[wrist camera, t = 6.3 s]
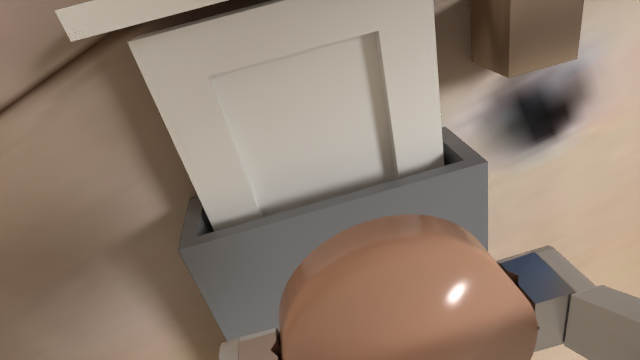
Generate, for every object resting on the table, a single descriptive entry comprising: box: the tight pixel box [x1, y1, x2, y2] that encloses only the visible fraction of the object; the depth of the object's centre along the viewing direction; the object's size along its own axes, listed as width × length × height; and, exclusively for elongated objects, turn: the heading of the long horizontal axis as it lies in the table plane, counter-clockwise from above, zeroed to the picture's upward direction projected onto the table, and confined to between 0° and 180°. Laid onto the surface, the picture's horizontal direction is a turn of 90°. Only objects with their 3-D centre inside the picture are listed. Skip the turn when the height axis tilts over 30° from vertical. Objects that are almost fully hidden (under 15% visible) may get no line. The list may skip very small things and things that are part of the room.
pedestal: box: [471, 0, 584, 78], centre depth 22 cm, size 4×4×4 cm
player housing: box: [178, 127, 488, 341], centre depth 29 cm, size 20×18×5 cm
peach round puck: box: [278, 214, 538, 360], centre depth 10 cm, size 6×6×2 cm
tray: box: [55, 0, 444, 232], centre depth 23 cm, size 20×18×5 cm
